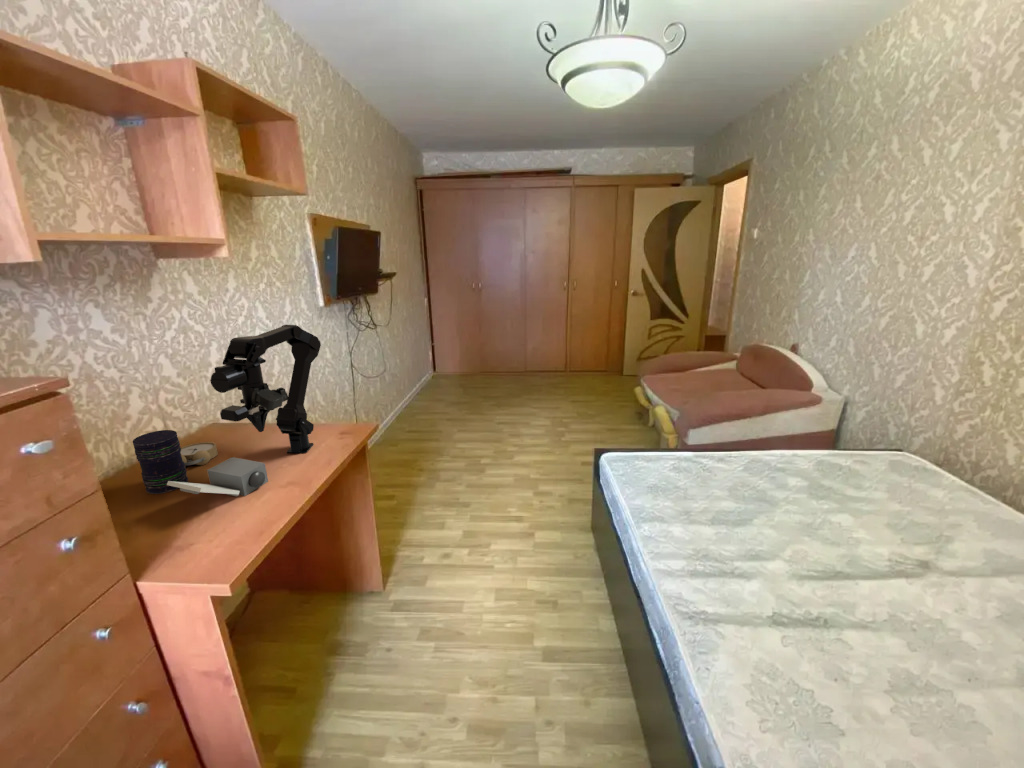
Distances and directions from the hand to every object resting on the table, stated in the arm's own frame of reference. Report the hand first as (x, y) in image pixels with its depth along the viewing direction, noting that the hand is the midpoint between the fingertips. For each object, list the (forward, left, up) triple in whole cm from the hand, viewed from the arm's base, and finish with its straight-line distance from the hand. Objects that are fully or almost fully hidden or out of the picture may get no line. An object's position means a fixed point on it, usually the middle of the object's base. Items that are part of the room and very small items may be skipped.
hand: (261, 431), depth 129 cm
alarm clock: (-8, -26, -14) cm, 30 cm away
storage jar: (+7, -25, -13) cm, 29 cm away
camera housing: (+8, -4, -13) cm, 16 cm away
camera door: (+13, -6, -12) cm, 19 cm away
